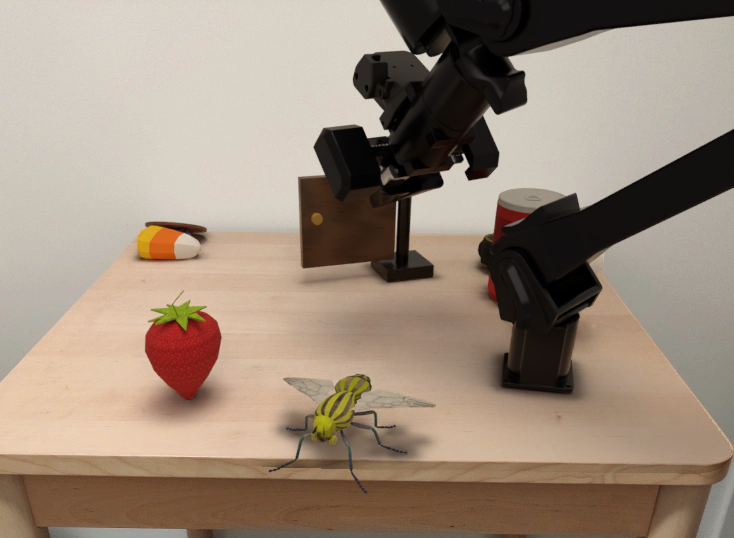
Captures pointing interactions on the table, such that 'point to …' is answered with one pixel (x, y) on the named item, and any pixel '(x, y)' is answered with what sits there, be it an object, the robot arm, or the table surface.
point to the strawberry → (183, 346)
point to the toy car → (179, 227)
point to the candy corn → (166, 244)
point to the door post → (404, 252)
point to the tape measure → (485, 249)
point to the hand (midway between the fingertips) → (373, 203)
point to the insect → (346, 408)
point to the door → (342, 227)
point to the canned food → (517, 212)
